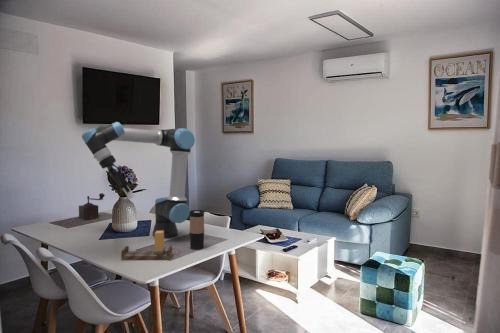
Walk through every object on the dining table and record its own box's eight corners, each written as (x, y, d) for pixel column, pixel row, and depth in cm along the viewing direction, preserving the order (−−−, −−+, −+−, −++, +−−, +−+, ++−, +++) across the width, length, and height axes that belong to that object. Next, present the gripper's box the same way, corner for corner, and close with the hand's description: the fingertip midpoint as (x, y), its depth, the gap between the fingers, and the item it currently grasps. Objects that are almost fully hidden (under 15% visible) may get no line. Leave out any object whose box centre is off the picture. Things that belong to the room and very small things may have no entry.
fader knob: (153, 254, 177) (153, 233, 177) (156, 250, 183) (156, 230, 183) (162, 254, 178) (162, 233, 177) (165, 250, 184) (164, 230, 183)
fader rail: (121, 260, 176) (121, 251, 175) (126, 254, 184) (126, 246, 183) (169, 259, 177) (169, 250, 177) (172, 254, 185) (172, 245, 185)
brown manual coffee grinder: (85, 220, 258) (84, 195, 257) (78, 218, 266) (77, 193, 264) (106, 217, 270) (105, 193, 268) (99, 215, 277) (98, 191, 276)
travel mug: (190, 245, 201) (190, 209, 199) (204, 245, 201) (204, 209, 200) (189, 249, 193) (189, 212, 191) (203, 249, 194) (203, 212, 192)
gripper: (96, 164, 185) (122, 203, 188) (100, 159, 174) (128, 200, 177) (109, 157, 188) (135, 195, 192) (114, 151, 177) (141, 192, 181)
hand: (131, 197), depth 184 cm, fingers closed
